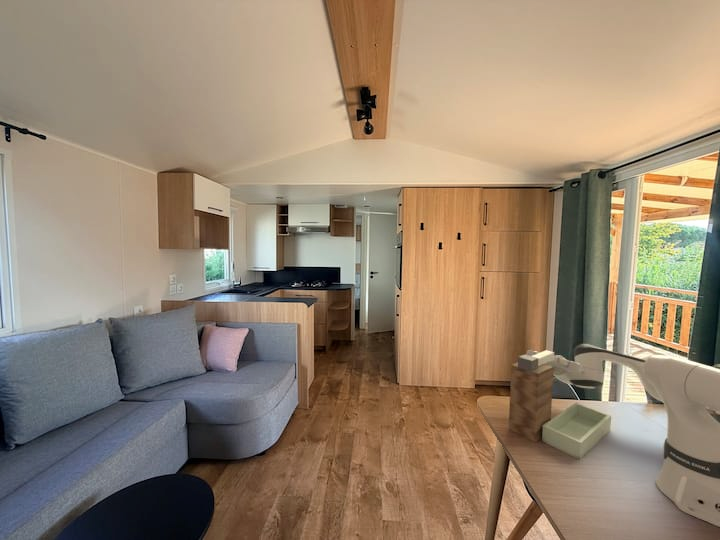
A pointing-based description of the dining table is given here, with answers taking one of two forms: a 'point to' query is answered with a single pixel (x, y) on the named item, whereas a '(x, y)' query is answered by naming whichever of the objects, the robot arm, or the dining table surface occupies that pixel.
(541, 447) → the dining table surface
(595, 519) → the dining table surface
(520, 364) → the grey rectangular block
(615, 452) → the dining table surface
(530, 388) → the stand
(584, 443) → the bin
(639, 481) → the dining table surface
